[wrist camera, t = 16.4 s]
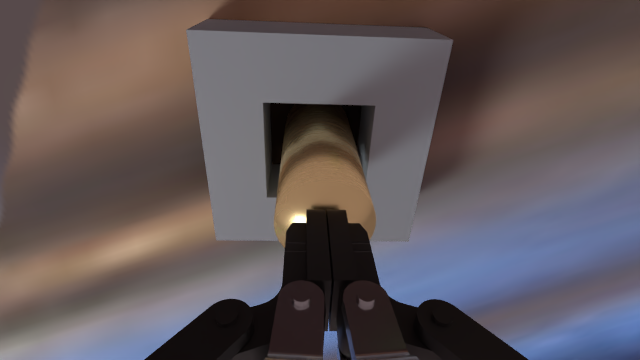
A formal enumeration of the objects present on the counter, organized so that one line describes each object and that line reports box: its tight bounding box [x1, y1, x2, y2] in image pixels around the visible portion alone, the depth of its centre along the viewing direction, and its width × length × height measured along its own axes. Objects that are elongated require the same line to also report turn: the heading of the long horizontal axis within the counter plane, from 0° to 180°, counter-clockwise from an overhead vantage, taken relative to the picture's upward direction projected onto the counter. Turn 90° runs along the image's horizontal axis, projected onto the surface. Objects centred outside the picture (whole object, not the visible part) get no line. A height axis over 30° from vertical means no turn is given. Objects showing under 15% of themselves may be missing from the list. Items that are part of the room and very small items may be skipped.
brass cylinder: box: [274, 103, 376, 248], centre depth 18 cm, size 4×4×10 cm
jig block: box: [186, 19, 453, 241], centre depth 21 cm, size 12×12×4 cm
